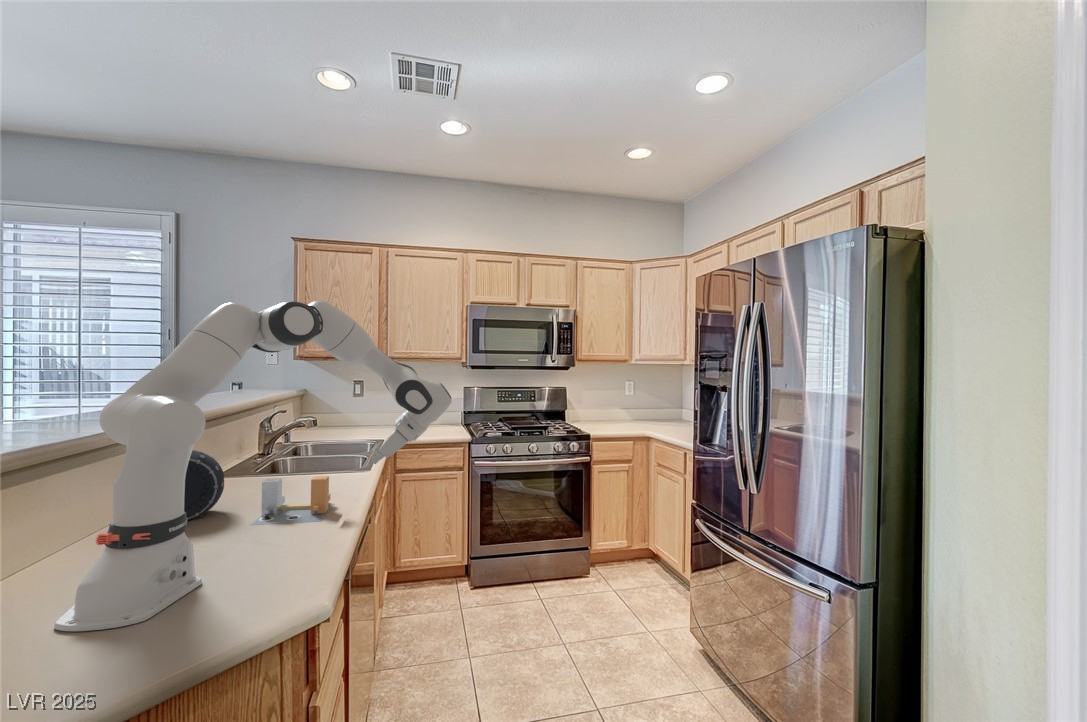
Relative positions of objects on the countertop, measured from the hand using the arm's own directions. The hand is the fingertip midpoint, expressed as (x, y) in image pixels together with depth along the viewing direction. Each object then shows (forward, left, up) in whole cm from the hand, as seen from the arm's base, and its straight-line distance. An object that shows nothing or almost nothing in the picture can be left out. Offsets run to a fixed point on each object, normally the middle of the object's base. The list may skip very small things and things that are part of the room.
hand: (374, 459), depth 144 cm
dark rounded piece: (+2, +52, -17) cm, 55 cm away
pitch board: (0, +22, -16) cm, 27 cm away
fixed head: (+1, +28, -15) cm, 32 cm away
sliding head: (+1, +15, -15) cm, 21 cm away
